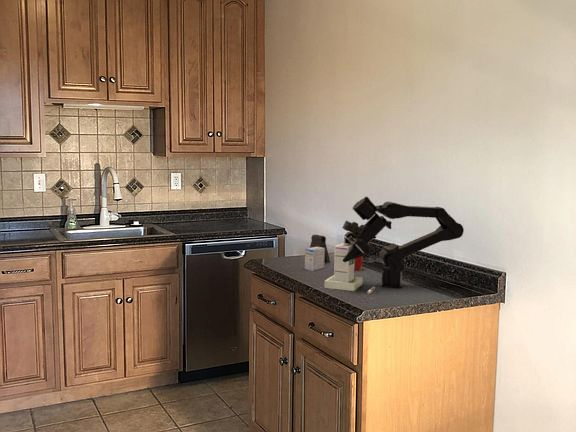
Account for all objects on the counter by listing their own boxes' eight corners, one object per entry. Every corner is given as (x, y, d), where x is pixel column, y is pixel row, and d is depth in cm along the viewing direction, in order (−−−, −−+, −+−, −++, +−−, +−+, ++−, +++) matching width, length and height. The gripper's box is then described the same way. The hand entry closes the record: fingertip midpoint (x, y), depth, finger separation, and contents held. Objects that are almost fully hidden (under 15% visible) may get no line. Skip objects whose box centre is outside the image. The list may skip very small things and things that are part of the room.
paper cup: (367, 269, 266) (368, 235, 264) (356, 271, 260) (357, 237, 259) (352, 266, 271) (353, 233, 269) (341, 269, 266) (342, 235, 264)
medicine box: (315, 266, 269) (316, 246, 268) (324, 268, 266) (325, 247, 265) (304, 269, 263) (304, 248, 262) (313, 271, 260) (313, 250, 259)
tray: (362, 284, 237) (362, 277, 237) (354, 291, 227) (354, 283, 227) (333, 281, 241) (333, 274, 241) (324, 287, 231) (324, 280, 231)
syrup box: (348, 286, 230) (349, 246, 228) (333, 284, 233) (334, 244, 231) (354, 283, 235) (356, 244, 233) (340, 281, 238) (341, 242, 236)
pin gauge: (371, 288, 231) (373, 285, 231) (374, 290, 231) (376, 287, 231) (366, 293, 224) (367, 290, 224) (369, 295, 224) (370, 292, 223)
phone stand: (314, 265, 273) (315, 237, 271) (305, 262, 277) (306, 235, 276) (330, 262, 278) (331, 235, 277) (321, 260, 283) (321, 233, 281)
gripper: (350, 210, 241) (320, 239, 241) (362, 216, 222) (330, 248, 222) (370, 231, 243) (341, 260, 243) (384, 238, 224) (352, 270, 224)
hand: (340, 259), depth 233 cm, fingers open, 9 cm apart
